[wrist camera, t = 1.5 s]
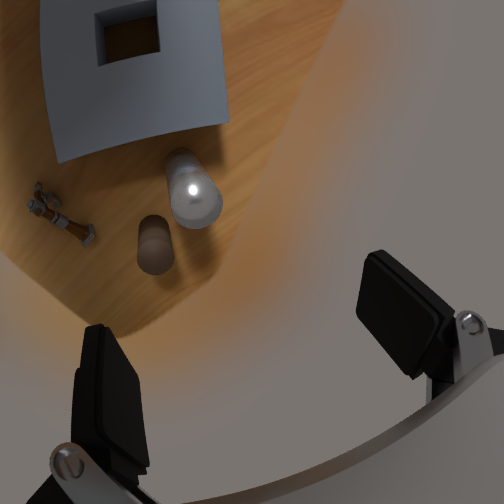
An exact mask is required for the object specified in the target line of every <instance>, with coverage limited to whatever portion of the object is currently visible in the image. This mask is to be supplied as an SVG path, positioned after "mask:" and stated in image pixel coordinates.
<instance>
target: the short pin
mask: <svg viewBox="0 0 504 504" xmlns="http://www.w3.org/2000/svg"><path fill="white" fill-rule="evenodd" d="M173 261H174V257H173V251H172V245H171V238H170V232H169V225H168V223H167V221H166V220H165V219H164V218H163V217H161V216H159V215H150V216H147V217H145V218H144V219H143V220H142V221H141V223H140V225H139V233H138V252H137V262H138V265H139V267H140V268H141V269H142V270H143V271H144V272H146V273H148V274H151V275H159V274H163V273H165V272H166V271H168V270H169V269H170V268H171V266H172V264H173Z"/></svg>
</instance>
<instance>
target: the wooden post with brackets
mask: <svg viewBox="0 0 504 504" xmlns="http://www.w3.org/2000/svg"><path fill="white" fill-rule="evenodd" d="M41 187H42V184H41V183H39V182H37V184H36V185H35V188H34V200H28V201H27V206H28V207H29V208H30V212H32V213H34V214H35V215H36V216H38V217H41V216H43V217H44V218H46V219H48V220H49V221H50V223H51V224H53V223H54V225H55V226H58V227H60V228H61V229H62V230H63V229H66V230H68V231H69V232H71V233H72V234H73V235H75V236H76V237H78V238H79V239H80V240H81V245H82V246H84V247H85V246H86V245H87V244H88V243H89V242H90V240H91V239H92V238H93V237H94V236H95V235H94V231H93V226H92V225H91V224H90V223H89V224H88V226H83V225H80V224H78V223H75V222H73V221H71V220H69V219H68V217H66V216H64V215H63V214H61V213H60V212H59V213H58V212H57V210H55V211H53V210H51V209H49V208H48V207H47V204H49V205H51V206H52V207H53V209H54V208H55V207H60V206H61V202H60V201H59V198H58V197H56V196H54V195H52V192H51V193H50V194H49V195H48V194H47V192H46V193H45V194H44V193H43V192H42V188H41ZM41 193H42V195H43V194H44V195H43V198H42V195H41ZM44 198H45V199H46V204H45V202H44Z"/></svg>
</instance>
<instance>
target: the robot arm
mask: <svg viewBox="0 0 504 504" xmlns="http://www.w3.org/2000/svg"><path fill="white" fill-rule="evenodd" d="M454 313H455V310H453V308H451V307H450V306H449V305H448V304H447V303H446V302H445V301H444V300H443V299H441V298H440V297H439V296H438V295H437V294H436V293H435V292H434V291H433V290H431V289H430V288H429V287H428V286H427V285H426V284H424V283H423V282H422V281H421V280H419V278H417V277H416V276H415V275H414V274H413V273H412V272H410V271H409V270H408V269H407V268H405V267H404V266H403V265H402V264H401V263H399V262H398V261H397V260H396V259H394V258H393V257H392V256H391V255H390V254H388V253H387V252H386V251H384V250H378V251H374V252H371V253H369V254H368V256H367V258H366V259H365V262H364V268H363V274H362V280H361V285H360V291H359V296H358V301H357V306H356V314H357V317H358V318H359V320H360V321H361V322H362V323H363V324H364V326H365V327H366V328H367V329H368V330H369V331H370V333H371V334H372V335H373V336H374V337H375V339H376V340H377V341H378V342H379V344H380V345H381V346H382V347H383V348H384V350H385V351H386V352H387V353H388V354H389V356H390V357H391V358H392V359H393V361H394V362H395V363H396V364H397V365H398V367H399V368H400V369H401V370H402V372H403V373H404V374H405V375H409V376H410V378H411V379H412V380H414V379H415V378H417V377H418V376H420V375H421V374H422V373H423V372H424V373H425V374H426V375H427V387H426V405H425V406H424V407H422V408H421V409H419V410H418V411H416V412H415V413H413V414H412V415H410V416H409V417H407V418H406V419H404V420H403V421H401V422H400V423H398V424H397V425H395V426H393V427H392V428H390V429H388V430H386V431H385V432H383V433H381V434H380V435H378V436H376V437H374V438H373V439H371V440H369V441H367V442H365V443H363V444H361V445H360V446H358V447H356V448H354V449H352V450H350V451H348V452H346V453H344V454H341V455H339V456H337V457H335V458H333V459H331V460H329V461H326V462H324V463H322V464H319V465H317V466H315V467H312V468H310V469H307V470H305V471H302V472H300V473H297V474H294V475H292V476H289V477H286V478H283V479H280V480H277V481H275V482H271V483H268V484H265V485H262V486H258V487H255V488H252V489H248V490H245V491H241V492H236V493H232V494H228V495H224V496H219V497H215V498H210V499H205V500H200V501H195V502H190V503H183V504H504V330H499V329H493V328H488V327H487V325H486V322H485V321H484V319H483V318H482V317H481V316H480V315H479V314H477V313H475V312H473V311H462V312H460V313H458V314H457V317H456V318H454V317H453V315H454ZM71 419H72V420H71V443H70V442H66V443H63V444H60V445H58V446H57V447H56V448H55V449H54V450H53V452H52V454H51V456H50V463H49V465H50V470H51V472H52V474H51V475H50V477H49V478H48V479H47V480H46V481H45V482H44V483H43V484H42V486H41V487H40V488H39V489H38V490H37V491H36V492H35V494H34V495H33V496H32V497H31V498H30V499H29V500H28V501H27V503H26V504H161V503H159V502H158V501H157V500H155V499H154V498H153V497H152V496H150V495H149V494H148V493H147V492H146V491H145V490H143V489H142V488H141V487H140V486H139V480H138V475H146V474H147V471H146V467H149V466H150V462H149V456H148V450H147V443H146V436H145V429H144V421H143V412H142V403H141V392H140V382H139V378H138V375H137V373H136V372H135V370H134V368H133V367H132V365H131V364H130V362H129V361H128V359H127V358H126V356H125V354H124V352H123V351H122V349H121V347H120V346H119V344H118V342H117V340H116V338H115V337H114V335H113V333H112V331H111V330H110V328H109V327H104V325H103V324H97V325H92V326H88V327H86V328H85V333H84V340H83V346H82V353H81V363H80V368H77V370H76V372H75V379H74V388H73V401H72V418H71Z"/></svg>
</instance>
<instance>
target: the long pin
mask: <svg viewBox="0 0 504 504" xmlns="http://www.w3.org/2000/svg"><path fill="white" fill-rule="evenodd" d="M164 167H165V174H166V180H167V186H168V192H169V198H170V204H171V209H172V214H173V216H174V218H175V220H176V221H177V222H178V223H179V224H180V225H182V226H184V227H186V228H189V229H201V228H205V227H207V226H209V225H211V224H212V223H213V222H214V221H215V220H216V219H217V218H218V217H219V215H220V213H221V211H222V207H223V200H222V196H221V193H220V191H219V190H218V189H217V187H216V186H215V184H214V183H213V181H212V180H211V178H210V177H209V176H208V174H207V173H206V171H205V170H204V168H203V167H202V165H201V164H200V163H199V161H198V160H197V158H196V157H195V155H194V154H193V153H192V152H190V151H188V150H185V149H178V150H175V151H173V152H172V153H170V154H169V155H168V157H167V158H166V160H165V165H164Z"/></svg>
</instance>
